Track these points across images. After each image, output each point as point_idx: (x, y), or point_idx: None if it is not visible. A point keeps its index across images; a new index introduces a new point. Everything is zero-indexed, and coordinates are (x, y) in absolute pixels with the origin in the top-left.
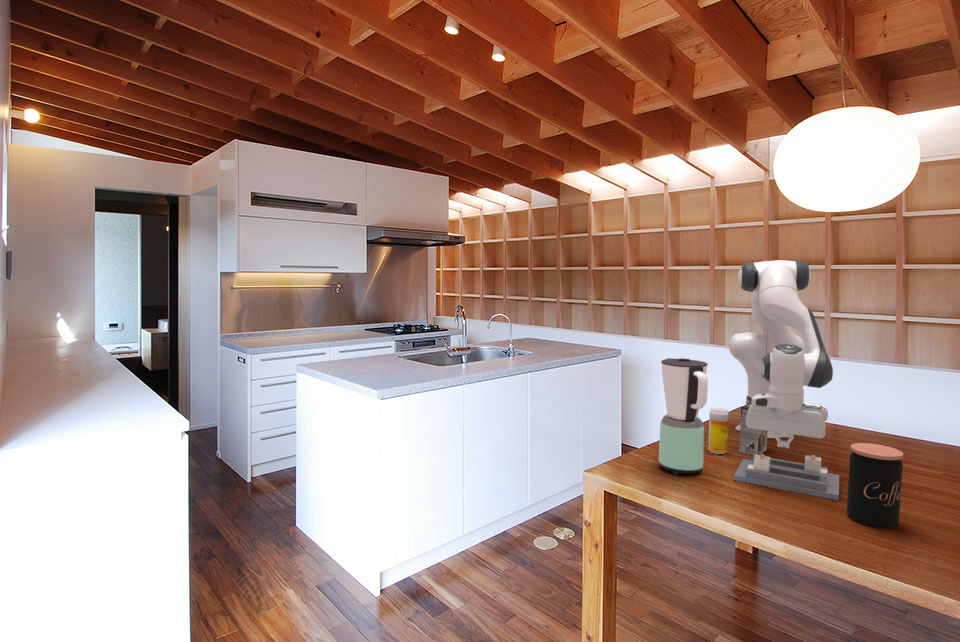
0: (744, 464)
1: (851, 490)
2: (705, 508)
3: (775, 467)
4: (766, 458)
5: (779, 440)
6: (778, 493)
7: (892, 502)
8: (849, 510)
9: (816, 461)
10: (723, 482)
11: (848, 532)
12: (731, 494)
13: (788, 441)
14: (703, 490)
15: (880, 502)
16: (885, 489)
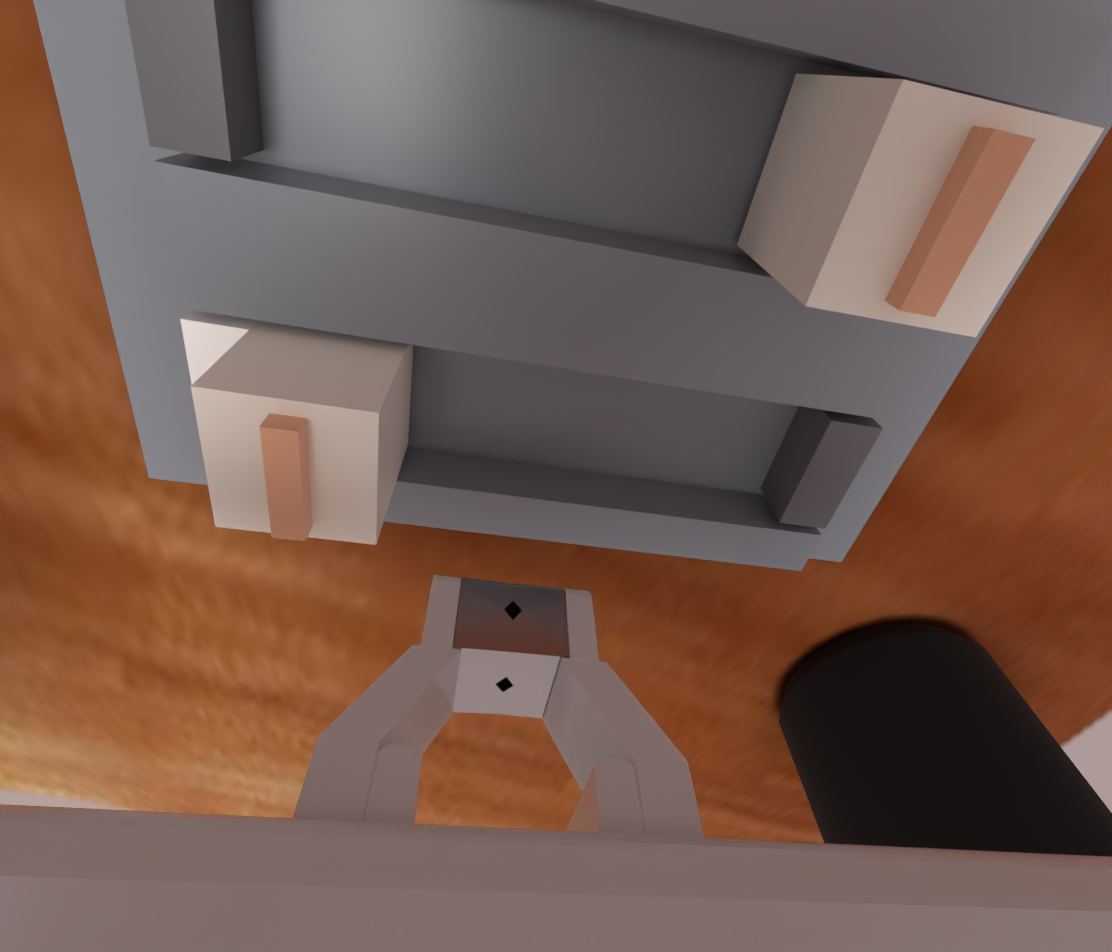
0: (98, 62)
1: None
2: (192, 800)
3: (457, 315)
4: (340, 483)
5: (438, 729)
6: (486, 559)
7: None
8: (785, 737)
9: (925, 326)
10: (123, 517)
11: (712, 789)
12: (239, 659)
13: (570, 746)
14: (85, 664)
15: None
16: None
